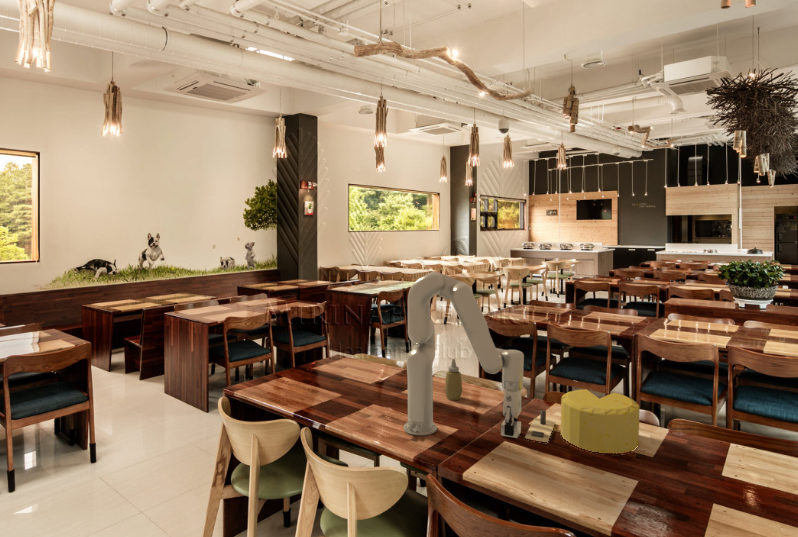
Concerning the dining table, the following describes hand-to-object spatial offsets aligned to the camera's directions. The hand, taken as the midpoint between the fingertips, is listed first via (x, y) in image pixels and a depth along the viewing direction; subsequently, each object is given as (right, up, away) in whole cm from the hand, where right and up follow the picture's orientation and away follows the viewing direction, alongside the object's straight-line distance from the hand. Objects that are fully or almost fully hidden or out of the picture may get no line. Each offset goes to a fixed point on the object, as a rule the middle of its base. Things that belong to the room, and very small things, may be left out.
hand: (510, 431), depth 180 cm
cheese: (+31, -2, -3) cm, 31 cm away
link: (0, -1, 0) cm, 1 cm away
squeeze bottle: (-17, +1, +41) cm, 44 cm away
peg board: (+12, -1, +3) cm, 13 cm away
